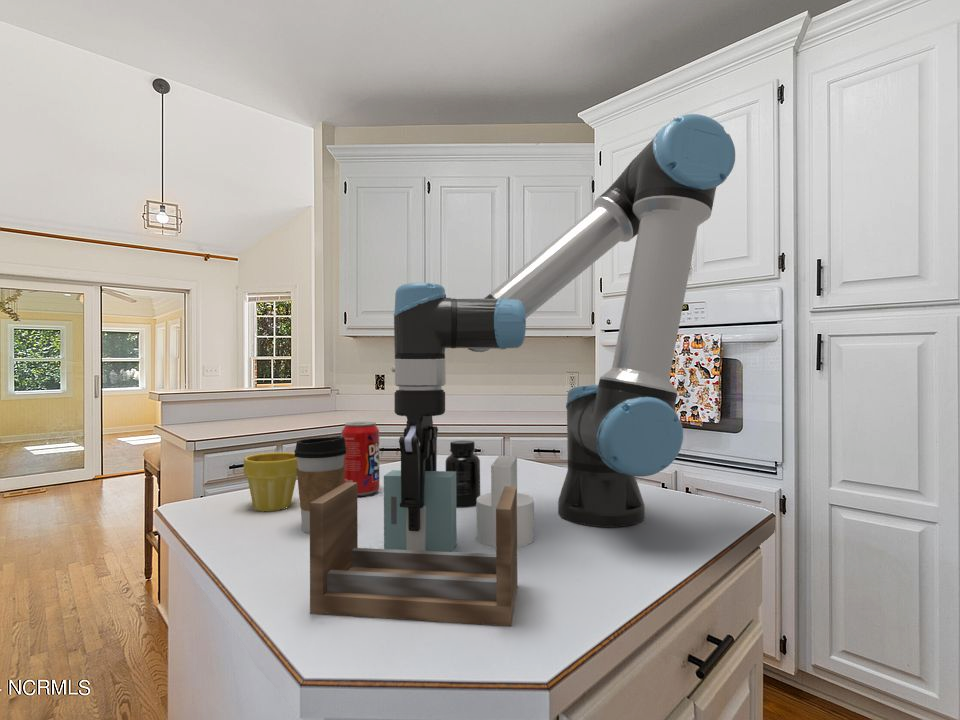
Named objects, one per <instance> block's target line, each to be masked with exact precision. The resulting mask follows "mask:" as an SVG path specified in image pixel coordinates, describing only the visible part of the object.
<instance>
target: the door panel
mask: <svg viewBox="0 0 960 720" xmlns="http://www.w3.org/2000/svg"><path fill="white" fill-rule="evenodd" d="M400 503H401V469H398V470H397V469H395V470H394V469H392V470H390V471H389V472H387V473H385V474H384V475H383V544H384V545H383V549H394V550H406V507H400ZM424 506H426V551H439V552H455V551H454V550H455V548H456V546H457V545H458V543H457V542H458V541H457V507H456V472H453V471H446V470H443V471H442V470H437V471H425V483H424Z"/></svg>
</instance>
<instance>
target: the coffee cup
mask: <svg viewBox="0 0 960 720" xmlns="http://www.w3.org/2000/svg"><path fill="white" fill-rule="evenodd" d="M346 450H347V448H346V445H345V438H344V437H341V436H331V437H315V438H305V439H300V440H297V441H296V444H295V449H294V452H293V453H295V455H294V456H295V457H297V465H298V468H297V478H296V480H297V486H298V495H299V496H298V497H299V506H300V515H301V528H302V531H303V532H304V533H307V534H310V503H311V502H312V501H314V500H316V499H318V498H319V497H321V496H323V495H325V494H326V493H328V492H330V491H332V490H334V489H335V488H337V487H339V486H341V485H342V484H343V479H344V468H345V466H344V454H346V453H347V452H346Z"/></svg>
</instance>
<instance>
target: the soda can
mask: <svg viewBox="0 0 960 720" xmlns="http://www.w3.org/2000/svg"><path fill="white" fill-rule="evenodd" d="M340 437H344V438H345V445H346V448H347V450H346V452H347V453H346V454H344V466H345V468H344V479H343V484H344V483H346V482H357V497H367V496H371V495H373V494H375V493H376V492H378V490H380V429H379V428H378V427H377V423H376V421H350V422H345V423H344V427H343V429H342V430H341V435H340Z"/></svg>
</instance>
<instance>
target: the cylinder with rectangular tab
mask: <svg viewBox="0 0 960 720" xmlns="http://www.w3.org/2000/svg"><path fill="white" fill-rule="evenodd" d="M490 472H491V476H490V479H491V480H490V481H491V482H490V483H491V484H490V485H491V487H490V488H491V489H490V491H491V492H490V493H488V492H487V493H485V494H484V493H483V494H480V496H479V497H478V498H477V500H476V505H475V506H476V509H475V510H476V511H475V512H476V540H477V541H478V542H479V543H480V544H482V545H485V546H488V547H493V548H496V508H497V505H498V502H499V500H500V497H501V494H502V492H503V489H504V487H505V486H509V487H517V488H518V456H517V455H516V456H515V455H499V456H497V458H496V459H495V461H493V463H492V464H491V465H490ZM534 502H535V500H534V497H532V496H530V495H529V494H525V493H520V492H517V548H519V547H524V546H527V545H529V544H531V543H532V542H533V541H534V540H535V522H534V521H535V518H534V517H535V513H534V511H535V510H534V509H535V503H534Z"/></svg>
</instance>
